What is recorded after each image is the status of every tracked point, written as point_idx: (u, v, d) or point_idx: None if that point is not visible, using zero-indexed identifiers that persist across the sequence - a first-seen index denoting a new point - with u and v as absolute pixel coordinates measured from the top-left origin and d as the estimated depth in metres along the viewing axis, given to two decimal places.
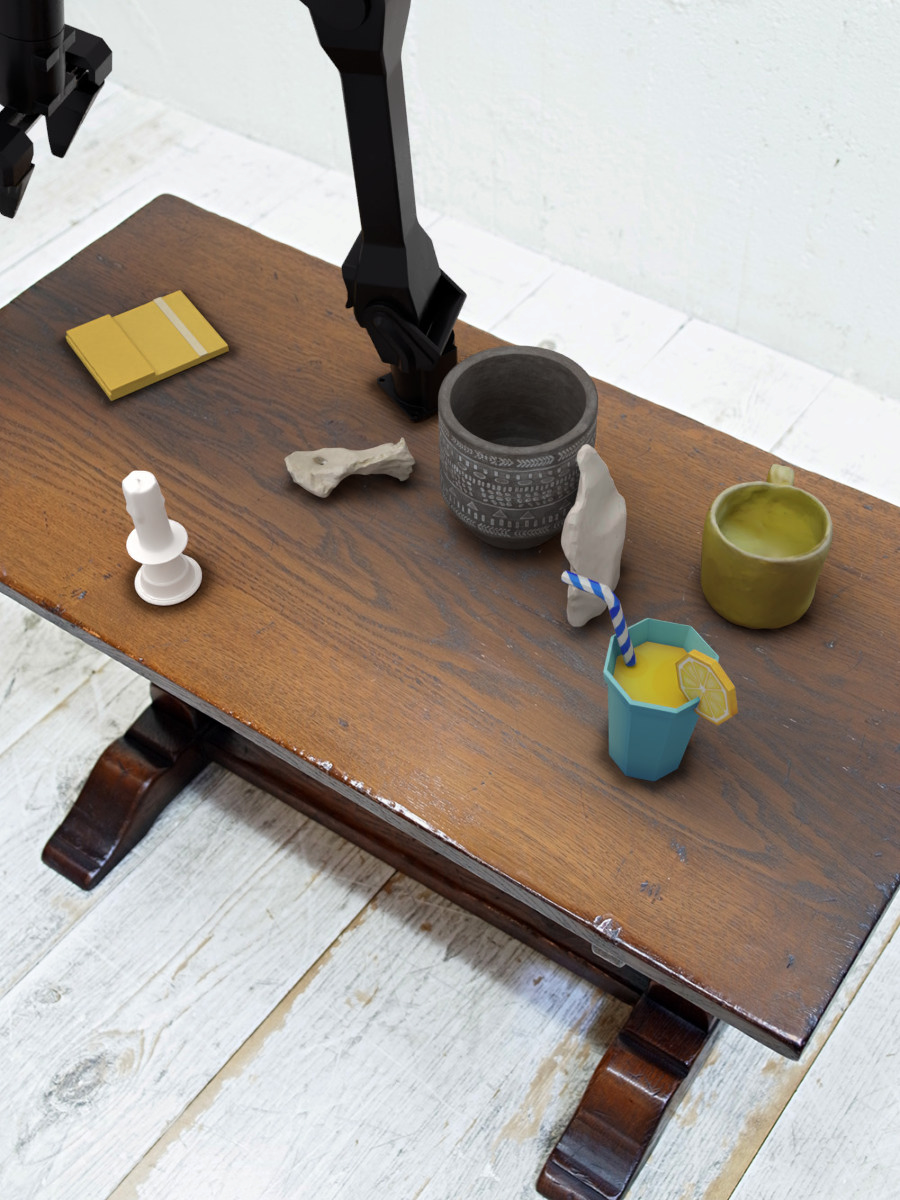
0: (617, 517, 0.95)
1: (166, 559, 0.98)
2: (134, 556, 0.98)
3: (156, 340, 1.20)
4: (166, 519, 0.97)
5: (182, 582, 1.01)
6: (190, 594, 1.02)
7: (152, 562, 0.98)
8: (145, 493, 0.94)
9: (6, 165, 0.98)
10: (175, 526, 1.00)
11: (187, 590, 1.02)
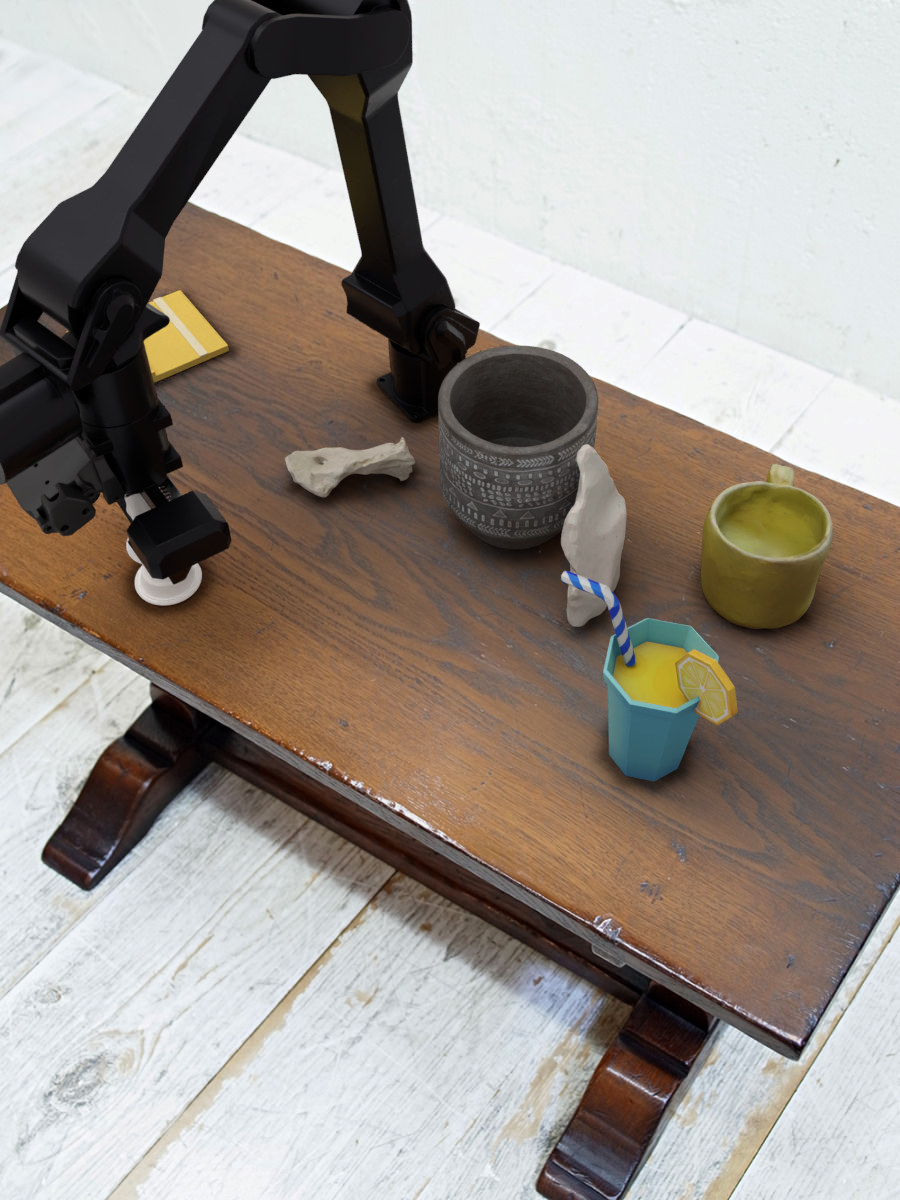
0: (617, 517, 0.95)
1: None
2: (134, 557, 0.98)
3: (156, 340, 1.20)
4: None
5: (182, 582, 1.01)
6: (190, 594, 1.02)
7: None
8: None
9: (224, 526, 0.89)
10: None
11: (187, 590, 1.02)
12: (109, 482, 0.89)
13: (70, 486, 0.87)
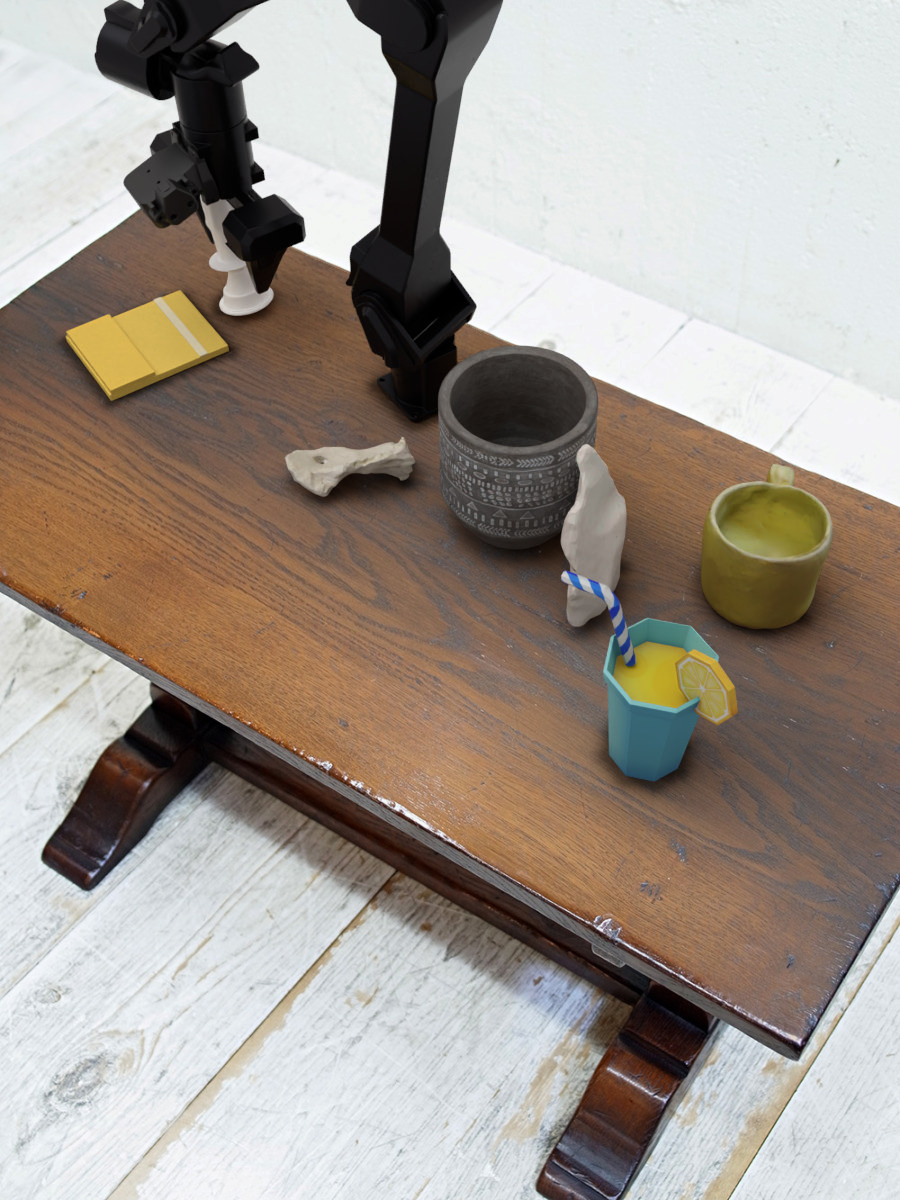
0: (617, 517, 0.95)
1: (241, 265, 1.19)
2: (215, 267, 1.20)
3: (156, 340, 1.20)
4: None
5: (257, 294, 1.22)
6: (264, 305, 1.23)
7: (230, 269, 1.19)
8: None
9: (300, 220, 1.10)
10: None
11: (261, 302, 1.23)
12: (208, 184, 1.10)
13: (178, 183, 1.08)
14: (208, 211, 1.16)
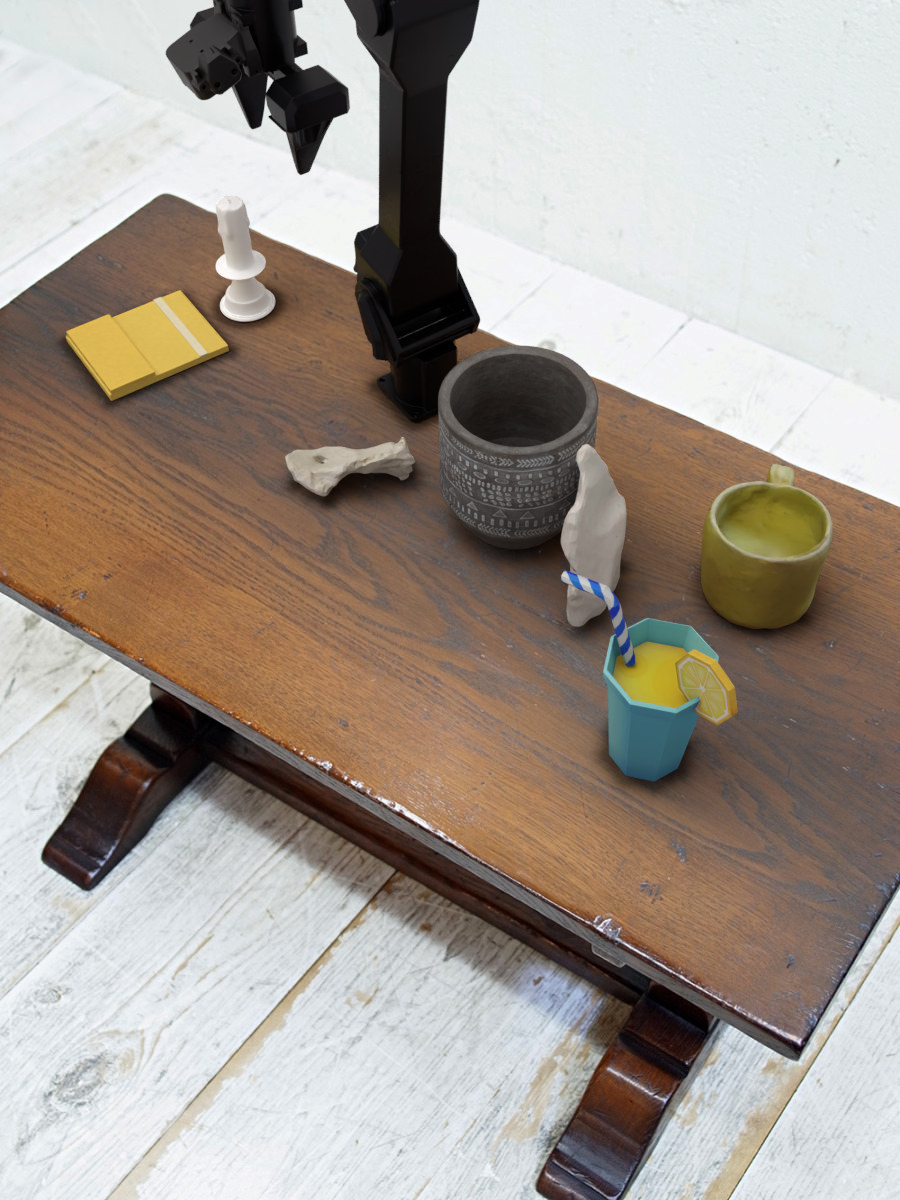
0: (617, 517, 0.95)
1: (250, 275, 1.19)
2: (223, 274, 1.20)
3: (156, 340, 1.20)
4: (250, 241, 1.19)
5: (260, 302, 1.23)
6: (267, 313, 1.23)
7: (238, 278, 1.19)
8: (235, 211, 1.15)
9: (345, 89, 1.09)
10: (254, 253, 1.22)
11: (264, 309, 1.23)
12: (251, 53, 1.08)
13: (221, 50, 1.07)
14: (223, 221, 1.16)
